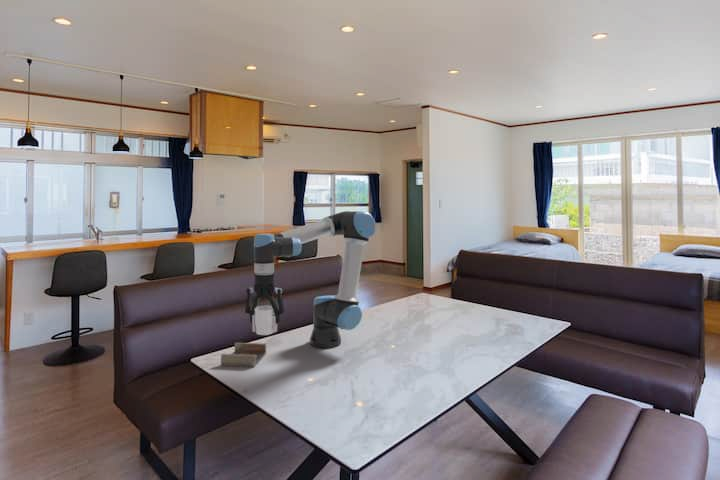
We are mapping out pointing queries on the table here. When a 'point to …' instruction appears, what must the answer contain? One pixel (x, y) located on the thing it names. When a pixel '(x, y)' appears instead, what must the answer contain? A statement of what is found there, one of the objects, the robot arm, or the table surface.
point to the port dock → (244, 355)
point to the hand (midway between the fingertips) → (265, 330)
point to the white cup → (264, 319)
